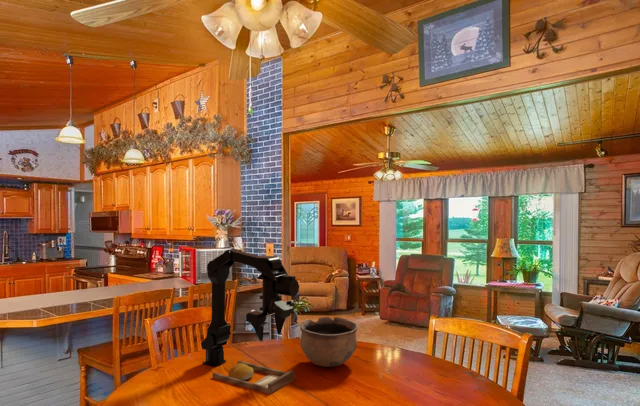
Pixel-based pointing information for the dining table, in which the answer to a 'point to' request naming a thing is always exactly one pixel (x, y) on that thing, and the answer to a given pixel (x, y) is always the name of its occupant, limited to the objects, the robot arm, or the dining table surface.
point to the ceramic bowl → (328, 340)
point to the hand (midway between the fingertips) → (270, 337)
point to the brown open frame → (264, 385)
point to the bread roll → (241, 371)
